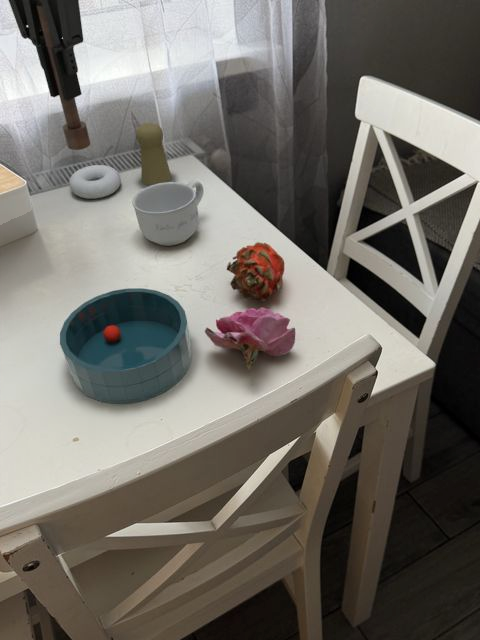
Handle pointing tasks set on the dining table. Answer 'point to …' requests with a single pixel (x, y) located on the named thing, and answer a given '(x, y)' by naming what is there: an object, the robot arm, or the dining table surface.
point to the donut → (95, 181)
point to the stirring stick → (73, 127)
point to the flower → (254, 333)
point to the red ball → (111, 333)
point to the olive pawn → (152, 155)
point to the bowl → (127, 345)
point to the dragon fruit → (257, 271)
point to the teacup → (168, 211)
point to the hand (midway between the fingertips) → (66, 95)
